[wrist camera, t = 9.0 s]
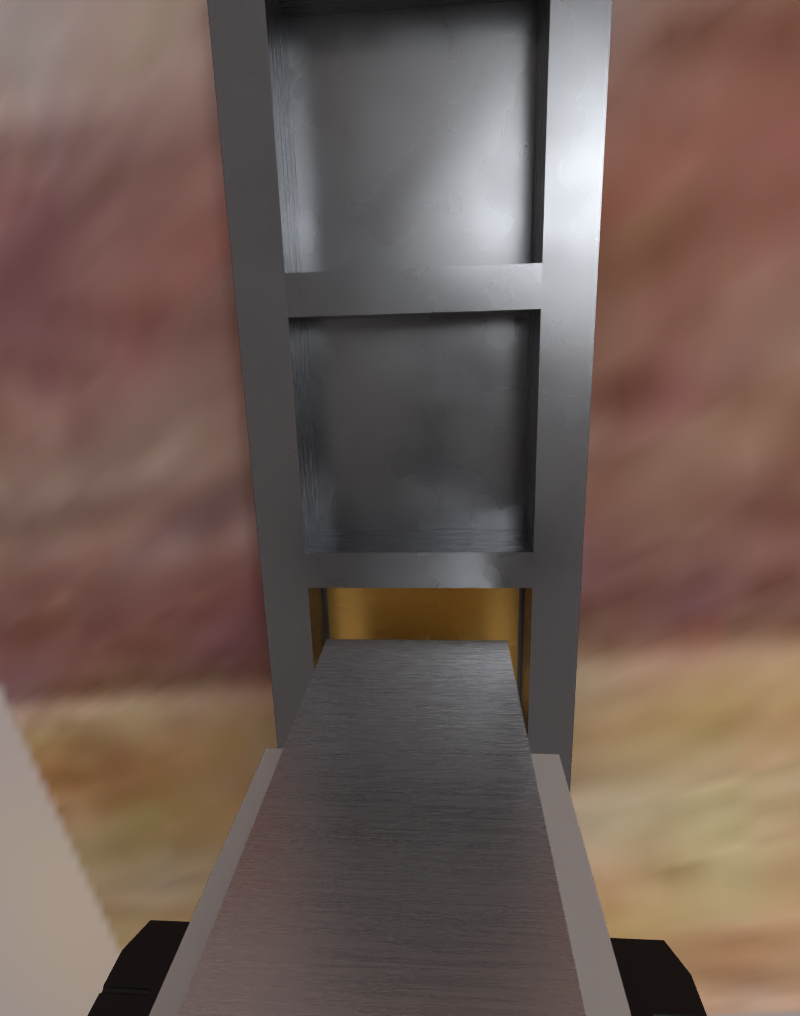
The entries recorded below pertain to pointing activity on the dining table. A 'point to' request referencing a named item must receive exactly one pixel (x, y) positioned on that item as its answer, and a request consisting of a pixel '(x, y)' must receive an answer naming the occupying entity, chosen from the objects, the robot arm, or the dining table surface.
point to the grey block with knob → (396, 852)
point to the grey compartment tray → (417, 322)
